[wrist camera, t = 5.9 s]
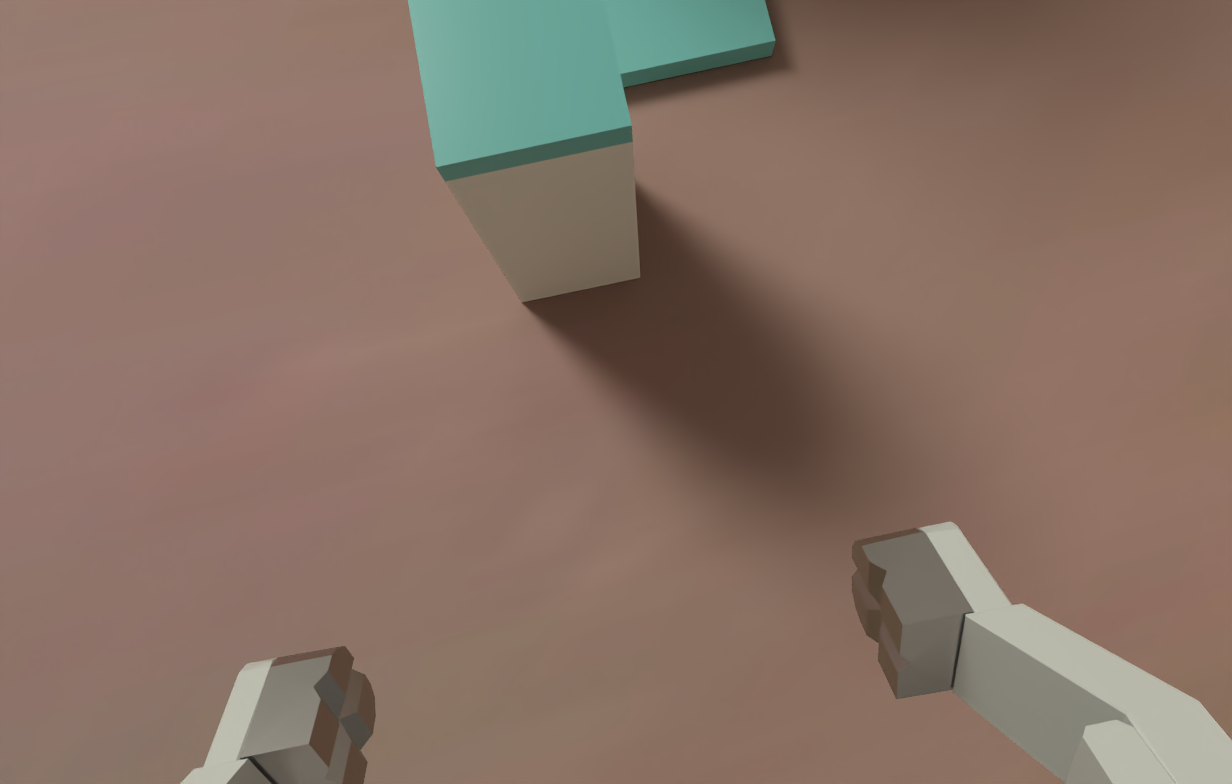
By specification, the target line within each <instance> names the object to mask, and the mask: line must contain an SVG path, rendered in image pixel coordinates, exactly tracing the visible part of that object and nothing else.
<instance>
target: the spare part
mask: <svg viewBox="0 0 1232 784" xmlns="http://www.w3.org/2000/svg"><path fill="white" fill-rule="evenodd" d="M408 3H409V9H410V15H411V21H412V27H413V33H414V39H415V45H416V51H417V57H418V63H419V69H420V75H421V81H422V87H423V93H424V99H425V105H426V111H427V117H428V123H429V129H430V134H431V140H432V146H433V152H434V158H435V164H436V168H437V170H438V171H439V173H440V174H441V176H442V177H443V179H444V181H445V182H446V184H447V185H448V187H449V189H450V190H451V192H452V193H453V195H454V196H455V198H456V200H457V201H458V203H459V204H460V206H461V207H462V209H463V211H464V212H465V214H466V215H467V217H468V219H469V220H470V222H471V223H472V225H473V226H474V228H475V230H476V231H477V233H478V234H479V236H480V238H481V239H482V241H483V242H484V244H485V245H486V247H487V249H488V250H489V252H490V253H491V255H492V256H493V258H494V260H495V261H496V263H497V264H498V266H499V268H500V269H501V271H502V272H503V274H504V275H505V277H506V279H507V280H508V282H509V283H510V285H511V287H512V288H513V290H514V291H515V293H516V294H517V296H518V298H519V299H520V301H521V302H527V301H532V300H536V299H541V298H546V297H551V296H556V295H560V294H565V293H570V292H575V291H579V290H584V289H589V288H594V287H599V286H603V285H608V284H613V283H618V282H622V281H627V280H632V279H637V278H640V261H639V244H638V226H637V209H636V192H635V175H634V158H633V140H632V125H631V120H630V116H629V111H628V107H627V102H626V98H625V93H624V89H623V84H622V80H621V75H620V71H619V66H618V62H617V57H616V53H615V48H614V44H613V39H612V35H611V30H610V26H609V21H608V16H607V12H606V7H605V3H604V0H408Z"/></svg>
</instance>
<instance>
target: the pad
mask: <svg viewBox="0 0 1232 784" xmlns="http://www.w3.org/2000/svg"><path fill="white" fill-rule="evenodd" d="M604 3H605V7H606V12H607V16H608V21H609V26H610V30H611V35H612V39H613V44H614V48H615V53H616V57H617V62H618V66H619V71H620V75H621V80H622V84H623V88H624V87H628V86H633V85H638V84H642V83H647V82H652V81H656V80H661V79H666V78H670V77H675V76H679V75H684V74H689V73H693V72H698V71H703V70H707V69H712V68H717V67H721V66H726V65H731V64H735V63H740V62H745V61H749V60H754V59H759V58H763V57H768V56H772V53H773V49H774V45H775V41H776V40H775V36H774V33H773V29H772V25H771V21H770V18H769V14H768V10H767V6H766V3H765V0H604Z"/></svg>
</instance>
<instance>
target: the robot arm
mask: <svg viewBox="0 0 1232 784" xmlns="http://www.w3.org/2000/svg"><path fill="white" fill-rule="evenodd" d="M852 558H853V560H854V562H855V565H856V567H857V569H858V570H857V571H856V572H855V573H854V574H853V576H852V593H853V598H854V602H855V607H856V610H857V613H858V616H859V619H860V622H861V624H862V626H863V628H864V631H865V633H866V635H867V636H869V637H870V638H872V639H873V640H875V641H876V642H878V643H879V651H878V661H879V663H880V665H881V668H882V670H883V672H884V674H885V676H886V678H887V680H888V682H889V685H890V687H891V689H892V691H893V693H894V695H895V697H896V699H900V698H906V697H912V696H918V695H924V694H930V693H936V692H942V691H948V690H953V693H954V694H955V695H956V696H958V697H959V698H960V699H961V700H962V701H964V702H965V703H966V704H967V705H969V706H970V707H971V708H972V709H974V710H975V711H976V712H977V713H979V714H980V715H981V716H982V717H984V718H985V719H986V720H987V721H989V722H990V723H991V724H992V725H994V726H995V727H996V728H997V729H998V730H1000V731H1001V732H1002V733H1003V734H1005V735H1006V736H1007V737H1008V738H1010V739H1011V740H1012V741H1013V742H1015V743H1016V744H1017V745H1018V746H1020V747H1021V748H1022V749H1023V750H1025V751H1026V752H1027V753H1028V754H1030V755H1031V756H1032V757H1033V758H1034V759H1036V760H1037V761H1038V762H1039V763H1041V764H1042V765H1043V766H1044V767H1046V768H1047V769H1048V770H1049V771H1051V772H1052V773H1053V774H1054V775H1056V776H1057V777H1058V778H1059V779H1061V780H1062V781H1063V782H1064V784H1232V740H1231V739H1230V738H1229V737H1228V736H1227V734H1226V733H1225V732H1224V731H1223V730H1222V728H1221V727H1220V726H1219V725H1218V724H1217V722H1216V721H1215V720H1214V719H1213V718H1212V716H1211V715H1210V714H1209V713H1208V712H1207V710H1206V709H1205V708H1204V707H1203V706H1202V704H1201V703H1200V702H1199V701H1197V700H1196V699H1194V698H1192V697H1190V696H1188V695H1187V694H1185V693H1183V692H1181V691H1179V690H1178V689H1176V688H1174V687H1172V686H1170V685H1169V684H1167V683H1165V682H1163V681H1161V680H1160V679H1158V678H1156V677H1154V676H1152V675H1151V674H1149V673H1147V672H1145V671H1143V670H1142V669H1140V668H1138V667H1136V666H1134V665H1133V664H1131V663H1129V662H1127V661H1125V660H1124V659H1122V658H1120V657H1118V656H1116V655H1115V654H1113V653H1111V652H1109V651H1107V650H1106V649H1104V648H1102V647H1100V646H1098V645H1097V644H1095V643H1093V642H1091V641H1089V640H1088V639H1086V638H1084V637H1082V636H1080V635H1079V634H1077V633H1075V632H1073V631H1071V630H1070V629H1068V628H1066V627H1064V626H1062V625H1061V624H1059V623H1057V622H1055V621H1053V620H1052V619H1050V618H1048V617H1046V616H1044V615H1043V614H1041V613H1039V612H1037V611H1035V610H1034V609H1032V608H1030V607H1028V606H1026V605H1025V604H1023V603H1022V604H1016V605H1012V603H1011V602H1010V601H1009V599H1008V598H1007V596H1006V595H1005V593H1004V592H1003V590H1002V589H1001V588H1000V586H999V585H998V583H997V582H996V580H995V579H994V578H993V576H992V575H991V573H990V572H989V570H988V569H987V567H986V566H985V565H984V563H983V562H982V560H981V559H980V557H979V556H978V555H977V553H976V552H975V550H974V549H973V547H972V546H971V544H970V543H969V542H968V540H967V539H966V537H965V536H964V534H963V533H962V532H961V530H960V529H959V527H958V526H957V525H956V524H954V523H953V522H946V523H941V524H936V525H931V526H926V527H921V528H918V529H916V528H913V529H908V530H904V531H899V532H895V533H890V534H885V535H881V536H876V537H871V538H867V539H862V540H858V541H855V542H854V544H853V546H852ZM353 660H354V657H353V656H352V655H351V653H350V652H349V651H348V649H347V648H346V647H345V646H342V647H335V648H330V649H324V650H318V651H313V652H307V653H301V654H295V655H290V656H284V657H278V658H273V659H268V660H263V661H258V662H253V663H247V664H246V665H245V666H244V668H243V669H242V670H241V671H240V672H239V674H238V676H237V679H236V681H235V684H234V687H233V689H232V692H231V694H230V697H229V700H228V702H227V705H226V708H225V710H224V713H223V716H222V718H221V721H220V724H219V726H218V729H217V732H216V734H215V737H214V740H213V742H212V745H211V748H210V750H209V753H208V756H207V758H206V761H205V764H204V766H203V767H200V768H196V769H193V770H192V772H191V773H190V774H189V775H188V776H187V777H186V778H185V779H184V780H183V781H182V782H181V783H180V784H363V783H364V778H365V773H366V767H367V760H366V759H365V757H364V755H363V753H362V752H361V748H362V747H363V746H364V745H365V743H366V742H367V741H368V739H369V738H370V737H371V735H372V734H373V729H374V723H375V717H376V713H375V696H374V693H373V690H372V686H371V684H370V682H369V680H368V679H367V677H366V676H365V674H362V673H360V672H358V671H355V670H353V669H352V665H353Z"/></svg>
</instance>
